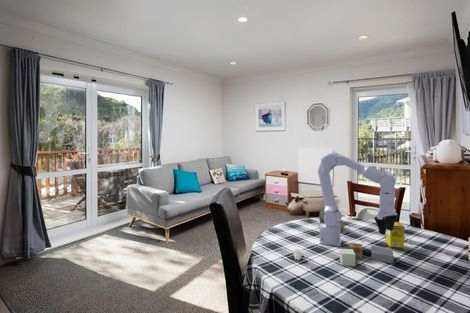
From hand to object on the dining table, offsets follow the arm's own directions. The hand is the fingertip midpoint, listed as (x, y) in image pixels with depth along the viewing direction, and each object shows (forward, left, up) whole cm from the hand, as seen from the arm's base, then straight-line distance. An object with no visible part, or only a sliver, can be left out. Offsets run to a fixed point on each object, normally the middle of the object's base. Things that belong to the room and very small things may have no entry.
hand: (386, 232), depth 119 cm
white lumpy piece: (-32, -19, -10) cm, 39 cm away
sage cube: (-15, -16, -10) cm, 24 cm away
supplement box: (+4, +11, -10) cm, 15 cm away
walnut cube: (-12, -8, -10) cm, 17 cm away
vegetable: (-26, +26, -10) cm, 38 cm away
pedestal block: (-2, -5, -10) cm, 12 cm away
